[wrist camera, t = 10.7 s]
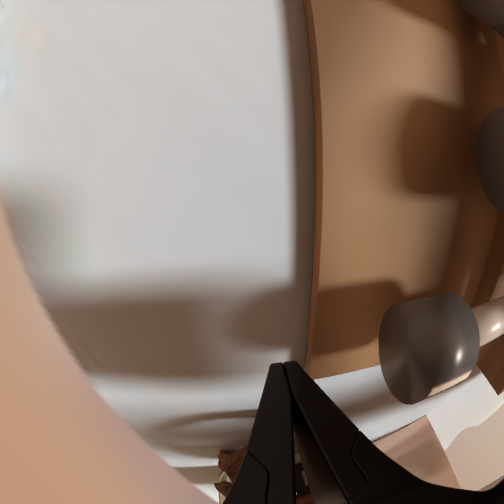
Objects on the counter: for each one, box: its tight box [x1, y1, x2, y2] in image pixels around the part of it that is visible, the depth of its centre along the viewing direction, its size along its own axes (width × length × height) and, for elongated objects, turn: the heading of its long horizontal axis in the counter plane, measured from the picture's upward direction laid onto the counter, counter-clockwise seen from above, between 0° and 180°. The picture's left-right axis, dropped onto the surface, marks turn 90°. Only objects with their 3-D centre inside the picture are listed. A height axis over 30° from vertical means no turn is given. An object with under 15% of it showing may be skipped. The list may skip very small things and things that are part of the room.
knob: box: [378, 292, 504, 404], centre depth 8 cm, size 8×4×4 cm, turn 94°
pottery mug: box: [214, 439, 315, 504], centre depth 15 cm, size 12×10×8 cm
